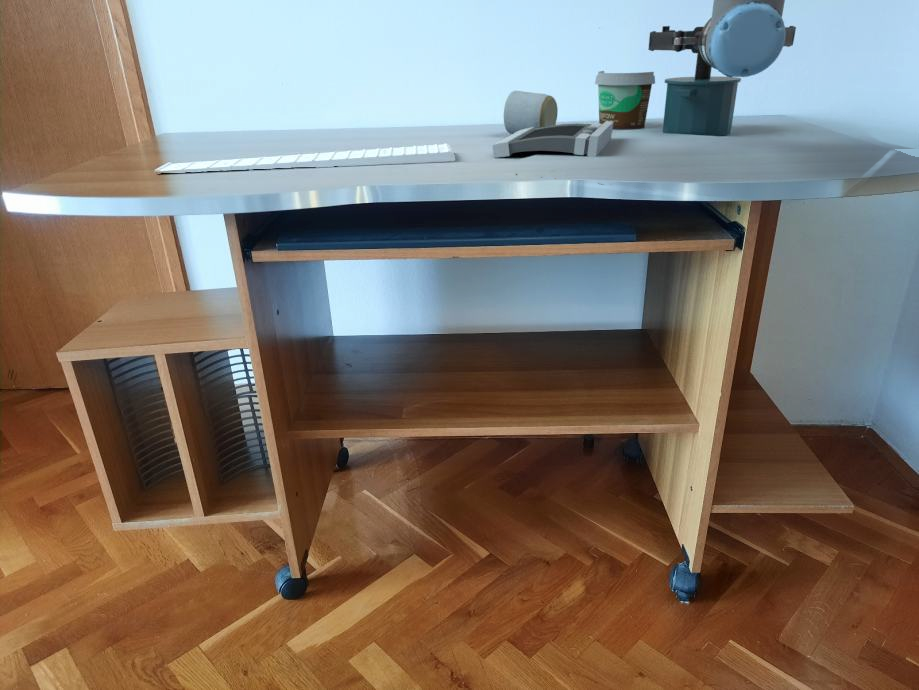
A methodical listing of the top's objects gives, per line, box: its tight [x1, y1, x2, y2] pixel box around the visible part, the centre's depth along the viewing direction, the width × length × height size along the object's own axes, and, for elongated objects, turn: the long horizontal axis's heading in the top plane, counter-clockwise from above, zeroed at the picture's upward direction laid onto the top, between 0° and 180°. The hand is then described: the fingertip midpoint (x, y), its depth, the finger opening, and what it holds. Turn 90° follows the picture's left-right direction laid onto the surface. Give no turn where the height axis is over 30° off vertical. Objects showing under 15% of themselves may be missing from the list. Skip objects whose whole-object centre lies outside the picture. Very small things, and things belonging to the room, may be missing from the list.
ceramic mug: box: [503, 90, 558, 135], centre depth 119 cm, size 11×8×8 cm
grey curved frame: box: [491, 121, 614, 159], centre depth 103 cm, size 17×5×16 cm
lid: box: [664, 53, 742, 85], centre depth 110 cm, size 13×13×9 cm
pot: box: [662, 82, 739, 137], centre depth 114 cm, size 12×17×8 cm
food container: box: [594, 70, 656, 130], centre depth 123 cm, size 12×6×10 cm, turn 42°
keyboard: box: [154, 142, 456, 173], centre depth 99 cm, size 45×8×2 cm, turn 94°
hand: (714, 38), depth 102 cm, fingers open, 13 cm apart
